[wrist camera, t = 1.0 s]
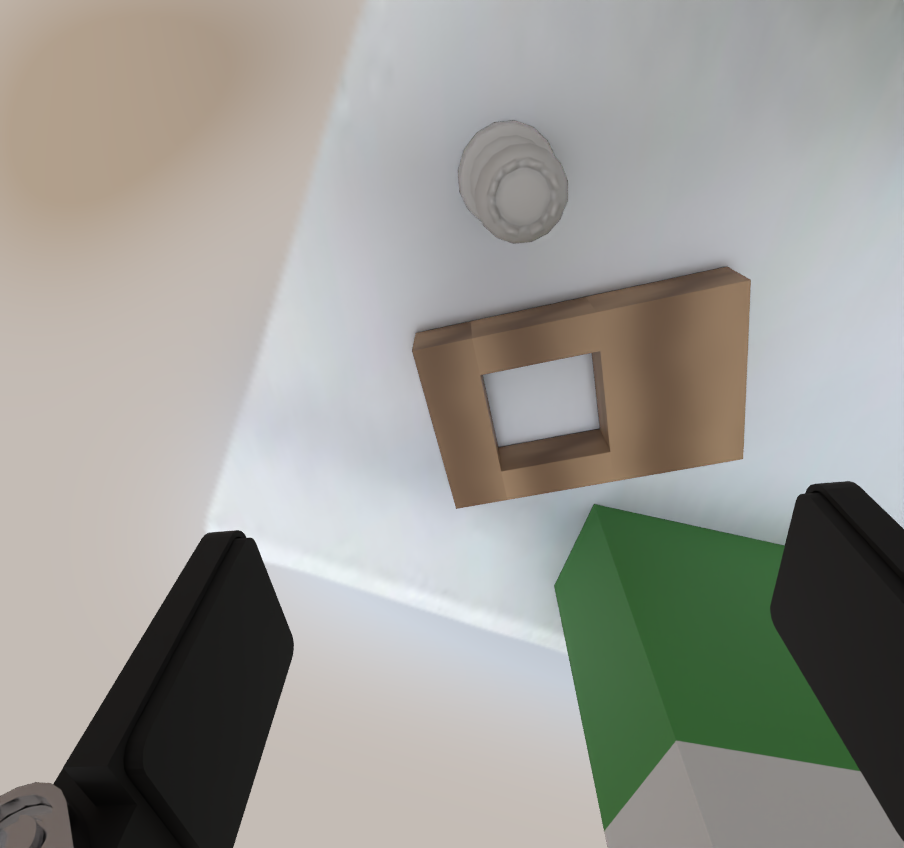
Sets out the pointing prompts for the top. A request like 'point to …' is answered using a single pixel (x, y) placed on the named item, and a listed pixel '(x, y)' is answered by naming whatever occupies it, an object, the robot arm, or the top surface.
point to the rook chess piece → (513, 182)
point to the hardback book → (701, 696)
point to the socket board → (598, 386)
